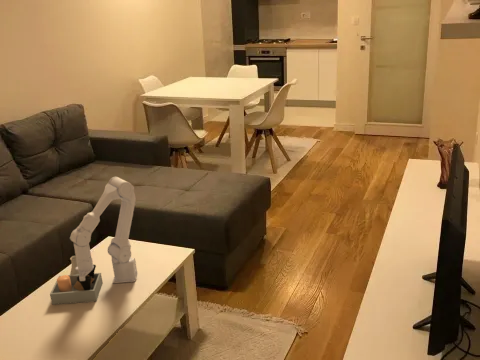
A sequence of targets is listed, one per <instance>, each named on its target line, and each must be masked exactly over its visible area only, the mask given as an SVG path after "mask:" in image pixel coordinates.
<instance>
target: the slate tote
mask: <svg viewBox="0 0 480 360" xmlns="http://www.w3.org/2000/svg"><path fill="white" fill-rule="evenodd" d="M67 275H68V274H67ZM60 276H61V275H59V276H58V277H60ZM68 276H69V277H70V281H71V285H72V290H73V291H72V292H59V287H58V283H57V280H56V281H55V283H54V285H53V287H52V289H51V291H50V293H49V295H50V296H49V297H50V302H51V305H52V306H54V305H55V306H56V305H69V304H80V303H92V302H97V300H98V299H99V295H100V292H101V289H102V286H103V284H104V283H103V278H102V272H96V273H95V272H94V282H93V283H91V290H85V291H78V290H77V289H75V288H74V287H73V286H74V285H75V284H76V282H77V277H78V276H79V275H70V274H69V275H68Z"/></svg>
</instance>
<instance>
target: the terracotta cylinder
mask: <svg viewBox="0 0 480 360" xmlns="http://www.w3.org/2000/svg"><path fill="white" fill-rule="evenodd" d="M59 276H60V277H59ZM59 276H58V277H57V279H56V281H57V283H58V287H59V292H72V291H73V290H72V285H71V281H70V277H69V276H68V274H64V275H59Z"/></svg>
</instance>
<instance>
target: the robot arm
mask: <svg viewBox="0 0 480 360" xmlns="http://www.w3.org/2000/svg"><path fill="white" fill-rule="evenodd" d="M136 199H137V197H136V194H135V186H134V185H133V184H132V183H131V182H129V181H126V180H125V179H123V178H121V177H118V176H113V177H111V178H110V179H109V180H108V183H106V184H105V187H104V190H103V193H102V194H101V196H100V197H99V198H98V201H97V202H96V204H95V206H94V208H93V210H92V211H91V212H87V214H86V215H84V216H83V219H82V221H81V222H80V223H79V225H78V226H77V227H76V228H75V229H73V230H72V232H71V234H70V237H69V240H70V241H71V242H73V247H74V254H75V256H76V259H77V264H78V267H76V269H75V270H76V271H78V272H79V276H78V277H77V281H78V282H80V284H81V285H82V287H83V288H84V290H91V278H93V279H94V273H95V272H96V271H95V270H96V267H97V265H96V264H93V262H94V261H93V258H92V252H91V248H90V242H91V239H92V238H91V237H92V234H93V232H94V231H95V229H96V227H97V226H98V225H99V223H100V222H101V219H100V216H101V215H102V214H103V213H104V211H105V210H106V208H107V207H108V206H109V205H110V204H111V202H112V201H115V200H121V202H120V208H119V215H118V220H117V226H116V230H115V236H114V237H112V239H111V240H110V244H109V246H108V247H107V254H108V255H109V256H110V257H111V264H112V269H113V270H112V271H113V280H112V284H120V283H121V284H123V283H132V282H136V280H137V279H136V278H137V275H138V268H137V262H136V258H135V257H132V250H131V247H132V246H131V243H130V240H129V238H130V232H131V226H132V223H133V221H132V220H133V217H134V211H135V205H136V201H137V200H136ZM88 275H89V276H88ZM93 282H94V280H93ZM93 282H92V283H93Z"/></svg>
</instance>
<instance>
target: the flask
mask: <svg viewBox="0 0 480 360" xmlns="http://www.w3.org/2000/svg"><path fill="white" fill-rule="evenodd" d="M69 260H70V261H71V269H70V273H69V275H79V272H78V271H76V270H75V269H76V267H78V264H77V259H76V255H72V256H71V257H70V258H69Z"/></svg>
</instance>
